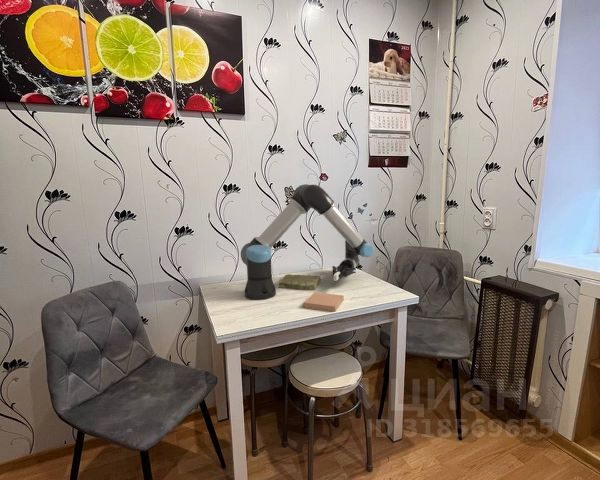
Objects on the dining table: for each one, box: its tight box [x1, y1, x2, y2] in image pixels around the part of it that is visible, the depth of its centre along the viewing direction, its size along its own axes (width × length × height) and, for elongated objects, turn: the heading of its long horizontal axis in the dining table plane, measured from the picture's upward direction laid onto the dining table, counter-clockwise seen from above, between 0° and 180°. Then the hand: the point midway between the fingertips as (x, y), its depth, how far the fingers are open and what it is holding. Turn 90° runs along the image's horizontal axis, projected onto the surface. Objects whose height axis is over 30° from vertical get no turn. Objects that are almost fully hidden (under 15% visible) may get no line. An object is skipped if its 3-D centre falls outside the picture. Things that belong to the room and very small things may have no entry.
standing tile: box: [303, 292, 345, 313], centre depth 144 cm, size 14×3×14 cm
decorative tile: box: [278, 273, 322, 291], centre depth 172 cm, size 19×20×4 cm
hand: (335, 277), depth 158 cm, fingers closed
